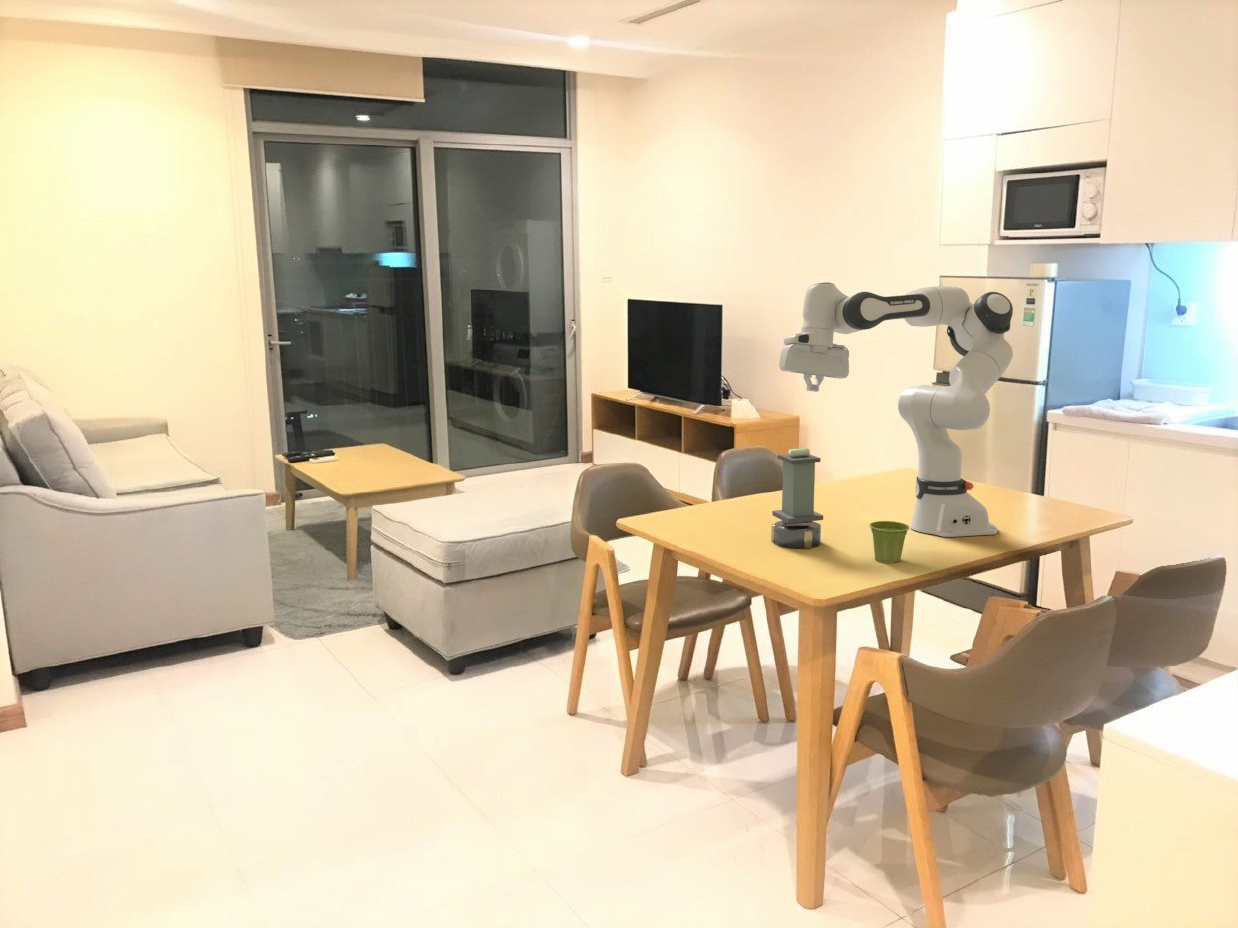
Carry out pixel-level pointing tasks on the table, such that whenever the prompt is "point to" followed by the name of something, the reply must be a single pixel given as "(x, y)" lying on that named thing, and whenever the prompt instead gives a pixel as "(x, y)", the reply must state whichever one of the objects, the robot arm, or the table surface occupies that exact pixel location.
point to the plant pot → (888, 540)
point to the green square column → (798, 488)
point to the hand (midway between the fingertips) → (812, 391)
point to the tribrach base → (796, 535)
